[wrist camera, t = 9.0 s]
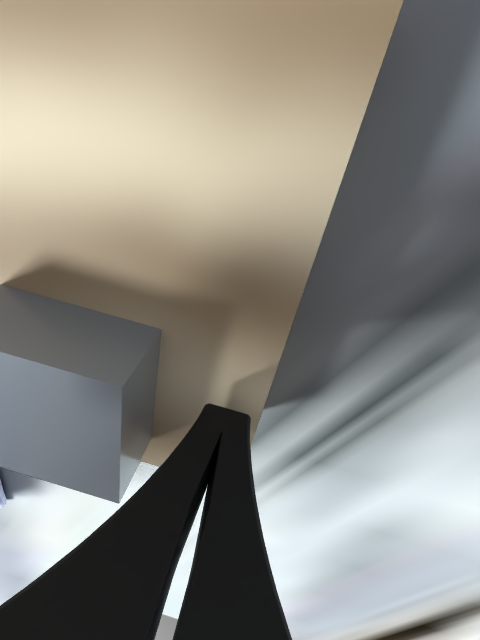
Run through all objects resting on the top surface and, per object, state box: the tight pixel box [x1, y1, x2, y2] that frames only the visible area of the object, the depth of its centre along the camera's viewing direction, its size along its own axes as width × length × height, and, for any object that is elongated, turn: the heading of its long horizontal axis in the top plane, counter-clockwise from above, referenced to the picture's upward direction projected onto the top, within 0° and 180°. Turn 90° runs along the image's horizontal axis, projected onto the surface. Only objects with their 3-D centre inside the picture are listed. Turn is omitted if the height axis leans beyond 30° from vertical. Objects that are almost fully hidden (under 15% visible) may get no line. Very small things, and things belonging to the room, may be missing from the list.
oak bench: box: [0, 0, 404, 467], centre depth 12 cm, size 15×18×4 cm
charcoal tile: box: [0, 284, 162, 503], centre depth 11 cm, size 5×5×2 cm
